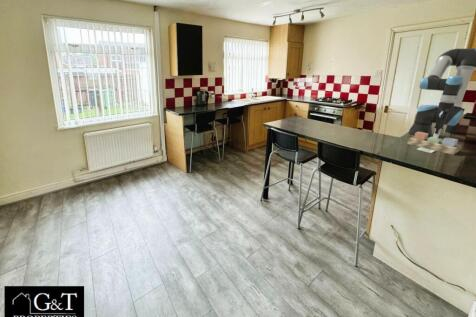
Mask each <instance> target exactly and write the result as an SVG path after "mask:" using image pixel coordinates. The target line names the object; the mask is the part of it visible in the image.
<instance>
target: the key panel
mask: <svg viewBox="0 0 476 317" xmlns="http://www.w3.org/2000/svg"><path fill="white" fill-rule="evenodd" d="M414 136H415V135H413V136H411V137H409V138H408V140H407V142H406V143H407V145H410V146H411V145H412V146H415V147H418V148H420V147H422V148H427V149H431V150H434V151H437V152H439V153H443V154H449V155H453V156H454V155H455V154H457V153H458V152H460V150H461V147H462V145H461V144H458V143H457V144H456V146H455V147H450V146H446V145H442V142H443V140H441V143H439V144H437V143H432V142H428V141H427V140H428V138H429V137H427V140H425V141H423V140H418V139H414Z"/></svg>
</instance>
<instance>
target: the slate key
mask: <svg viewBox="0 0 476 317" xmlns="http://www.w3.org/2000/svg"><path fill="white" fill-rule="evenodd" d="M442 141H443V142H442V145H446V146H450V147H455V146H456V144H457V145H458V142H459V139H458V138H453V137H448V136H446V137H443V139H442Z"/></svg>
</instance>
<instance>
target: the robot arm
mask: <svg viewBox="0 0 476 317" xmlns="http://www.w3.org/2000/svg"><path fill="white" fill-rule="evenodd" d="M450 66H451V67H453V66H454V67H455V70H456V73H455V75H454V76H453V75H450V76H447V78H443V76H444V75H445V73H446V71H447V69H448V68H449V67H450ZM474 71H476V47H474V48H452V49H450V50H447V51H445V52H444V53H442V54H440V55H438V58H436V60H435V64H434V66H433V67H432V70H431V71H430V73H429V74H428V76H426V77H422V78H421V80H420V81H419V85H418V87H419V89H421V90H427V91H428V90H429V91H441V92H442V94H441V97H440V100H439V101H440V102H438V104H424V105H423V104H422V105H419V106H418V108H417V111H416V115H415V117H414V122H413V124H412V126H411V127H410V128H409V130H408V132H407V133H408V134H410V135H413V136H415V133H416V132H424V133H429V134H428V137H427V138H429V137H432V138H436V139H438V138H439V136H440V133H441V131H442V130H443V129H444V125H445V126H447V125H452V126H454V125H456V124H457V123H458V121H459V119H460V118H461V116H462V114H463V115H464V113H463V112H465V110H464V111H463V110H462V108H463V106H462V102H463V99H464V96H465V93H466V91H467V88H468V85H469V83H470V80H471V78H472V75H473V72H474ZM462 117H463V116H462ZM433 124H435V125H434V133H433V130H432V129H433V128H432V126H433ZM432 134H433V135H432Z"/></svg>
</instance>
